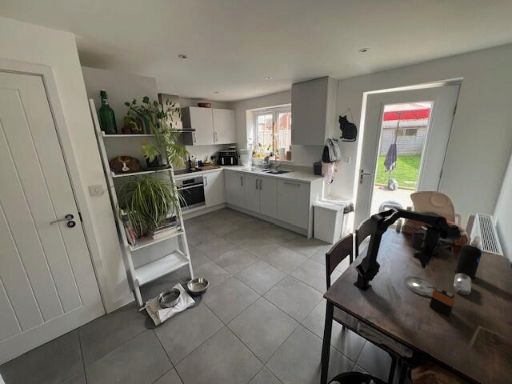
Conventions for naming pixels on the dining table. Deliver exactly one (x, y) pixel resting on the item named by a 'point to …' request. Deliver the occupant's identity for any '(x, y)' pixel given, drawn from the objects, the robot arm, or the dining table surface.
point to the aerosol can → (468, 260)
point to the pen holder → (417, 240)
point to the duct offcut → (462, 284)
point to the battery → (442, 301)
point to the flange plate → (420, 286)
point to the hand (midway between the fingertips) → (425, 266)
